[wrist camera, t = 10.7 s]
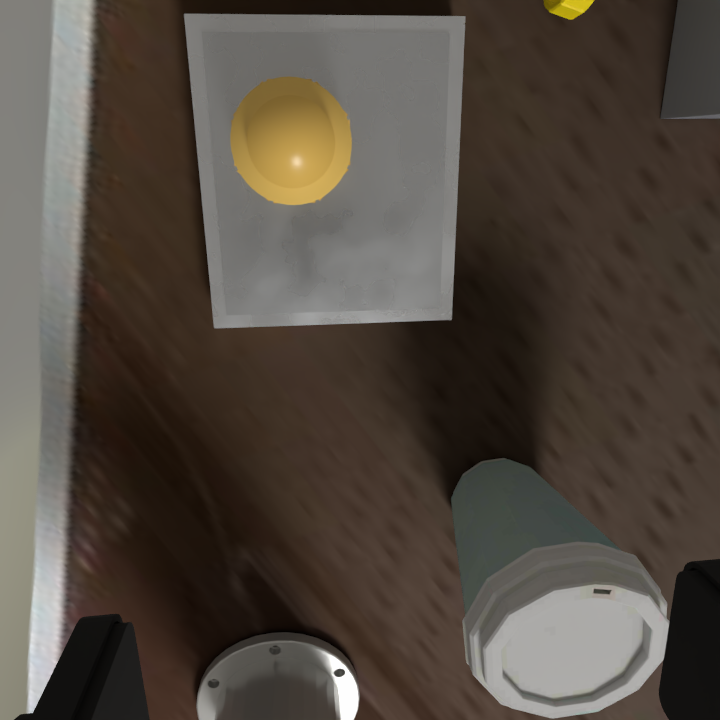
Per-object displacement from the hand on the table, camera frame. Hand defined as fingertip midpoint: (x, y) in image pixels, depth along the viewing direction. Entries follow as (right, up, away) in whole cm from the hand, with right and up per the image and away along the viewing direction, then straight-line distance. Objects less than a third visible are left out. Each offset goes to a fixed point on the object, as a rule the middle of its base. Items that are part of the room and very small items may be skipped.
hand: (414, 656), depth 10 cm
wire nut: (-4, +16, +21) cm, 27 cm away
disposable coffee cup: (+8, -5, +33) cm, 35 cm away
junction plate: (-3, +16, +25) cm, 29 cm away
